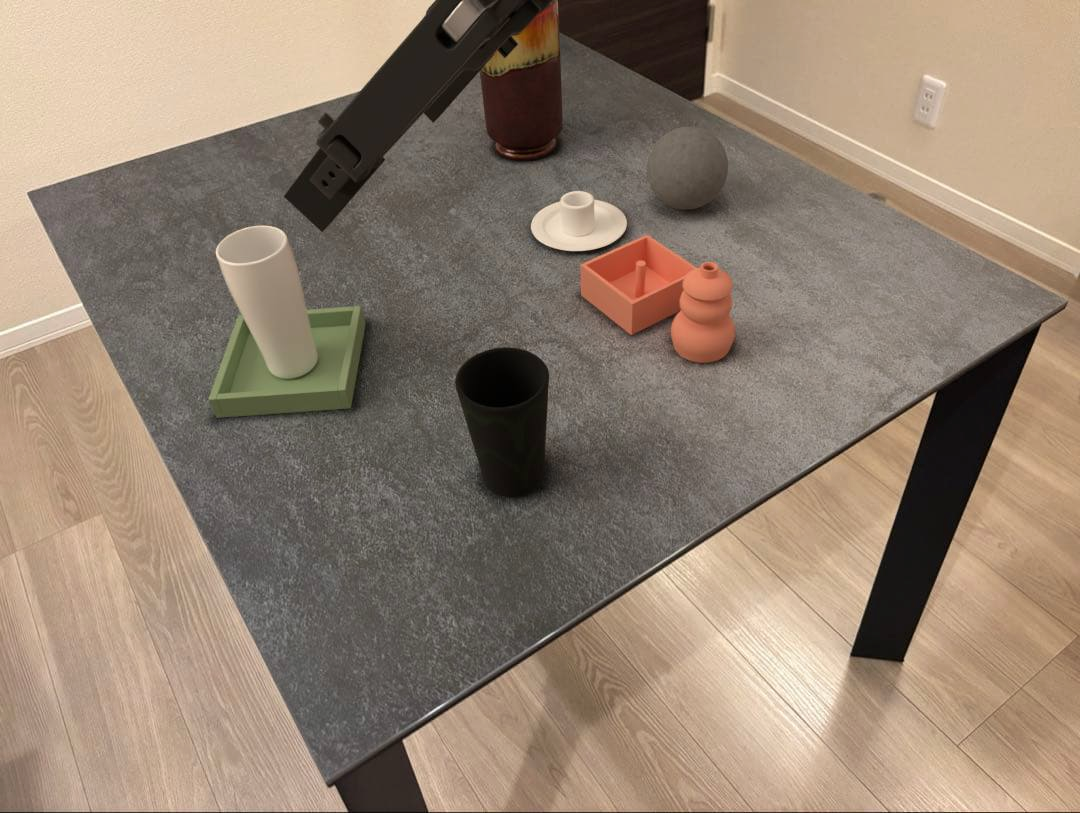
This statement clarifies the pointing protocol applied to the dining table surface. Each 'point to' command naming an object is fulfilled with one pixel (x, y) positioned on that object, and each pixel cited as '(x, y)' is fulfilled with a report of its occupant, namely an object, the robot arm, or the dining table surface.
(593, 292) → the pottery
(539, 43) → the vase
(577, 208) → the candle holder
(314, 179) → the robot arm
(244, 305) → the drinking glass
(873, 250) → the dining table surface
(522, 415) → the cup
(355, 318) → the green shallow square tray
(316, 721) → the dining table surface
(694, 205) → the decorative ball
